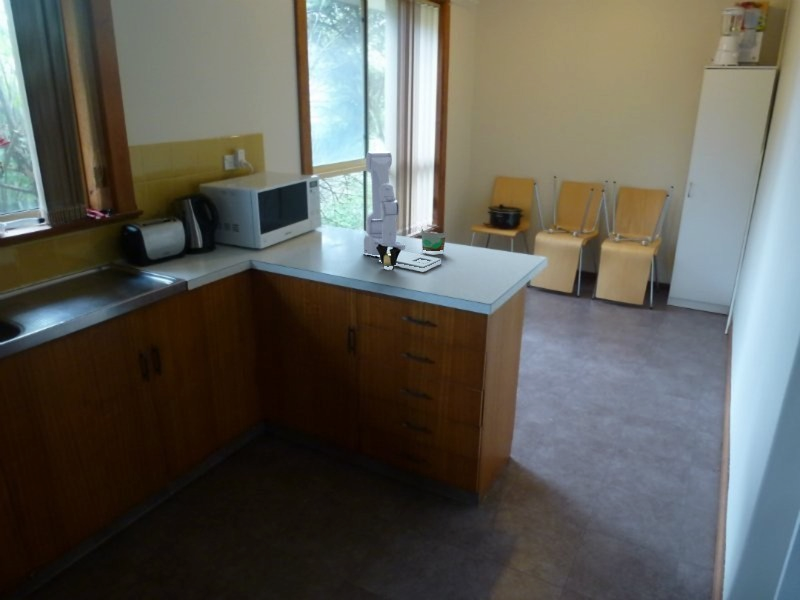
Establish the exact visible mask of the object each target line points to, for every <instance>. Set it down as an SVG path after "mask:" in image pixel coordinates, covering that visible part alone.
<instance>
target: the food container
mask: <svg viewBox="0 0 800 600" xmlns="http://www.w3.org/2000/svg"><path fill="white" fill-rule="evenodd" d="M447 235H448V234H447V232H446V231H445V232H437V231H429V230H428V231H427V230H424V229H423V228H421V230H420V234H419V236H421V243H422V244H421V246H422V251H423V250H426V251H440V250H443V251H444V249H445V242H446V238H447V237H448V236H447Z"/></svg>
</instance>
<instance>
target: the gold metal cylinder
mask: <svg viewBox="0 0 800 600" xmlns="http://www.w3.org/2000/svg"><path fill="white" fill-rule="evenodd" d="M383 265H384V266H387V267H389V266H391V254H390V252H387V253H385V254H384V264H383Z"/></svg>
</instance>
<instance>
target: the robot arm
mask: <svg viewBox="0 0 800 600" xmlns="http://www.w3.org/2000/svg"><path fill="white" fill-rule="evenodd" d="M392 156H393V155H392V153H391V152H390V151H389V150H388V151H367V153H366V156H365V163H366V164H365V166H366V167H365V168H366V172H367V173H370V177H371V199H372V201H371V204H372V205H371V206H372V212H371V213H369V215H367V217H366V219H365V230H366V231H365V232H366V234H365V236H364V238H363V253H368V254H372V255H380V258H381V262H382V263H381V265H384V254H385V253H388V249H389V248H390V249H389V253H390V254H391V266H394V265H396V261H397V258H398V255H399V253H400V252H401V251H405V250H406V244H405V243H401V242H399V241H397V216H398V215H399V209H400V207H399V202H398V200H397V198H396V197H395V192H394V187H393V185H392V184H390V180H389V179H390V176H389V175H390V174H389V170H390V169H391V166H392V163H393V157H392ZM394 267H395V266H394Z"/></svg>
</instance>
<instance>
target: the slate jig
mask: <svg viewBox="0 0 800 600" xmlns="http://www.w3.org/2000/svg"><path fill="white" fill-rule="evenodd" d="M419 259H421V260H427V261H429V262H427V263H425V264H424V263H420V262H415V261H417V260H419ZM379 260H381V258H380V257H379V258H378V261H379ZM440 260H441V261H442V258H439V257H434V256H431V255H426V254H419V253H414V252H409V251H405V250H401V252H400V253H399V255H398V258H397V261H396V263H398V264H404V265H409V266H414V267H419V268H425V267H427V266H430V265H432V264H434V263H436V262H438V261H440Z"/></svg>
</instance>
